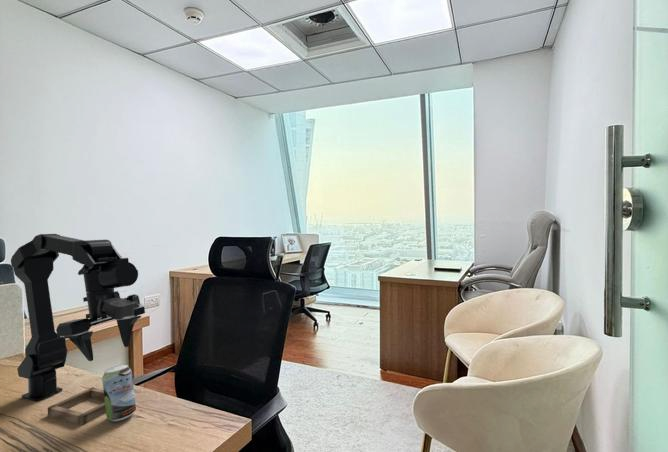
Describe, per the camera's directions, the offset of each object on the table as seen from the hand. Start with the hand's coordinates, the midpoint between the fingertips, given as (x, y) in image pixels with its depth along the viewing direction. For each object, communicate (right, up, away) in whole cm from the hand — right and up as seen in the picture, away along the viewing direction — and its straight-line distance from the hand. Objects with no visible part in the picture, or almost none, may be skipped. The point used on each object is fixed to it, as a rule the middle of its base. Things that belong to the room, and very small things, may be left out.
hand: (109, 353), depth 85 cm
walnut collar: (-7, -15, +2) cm, 16 cm away
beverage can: (+4, -15, -2) cm, 15 cm away
